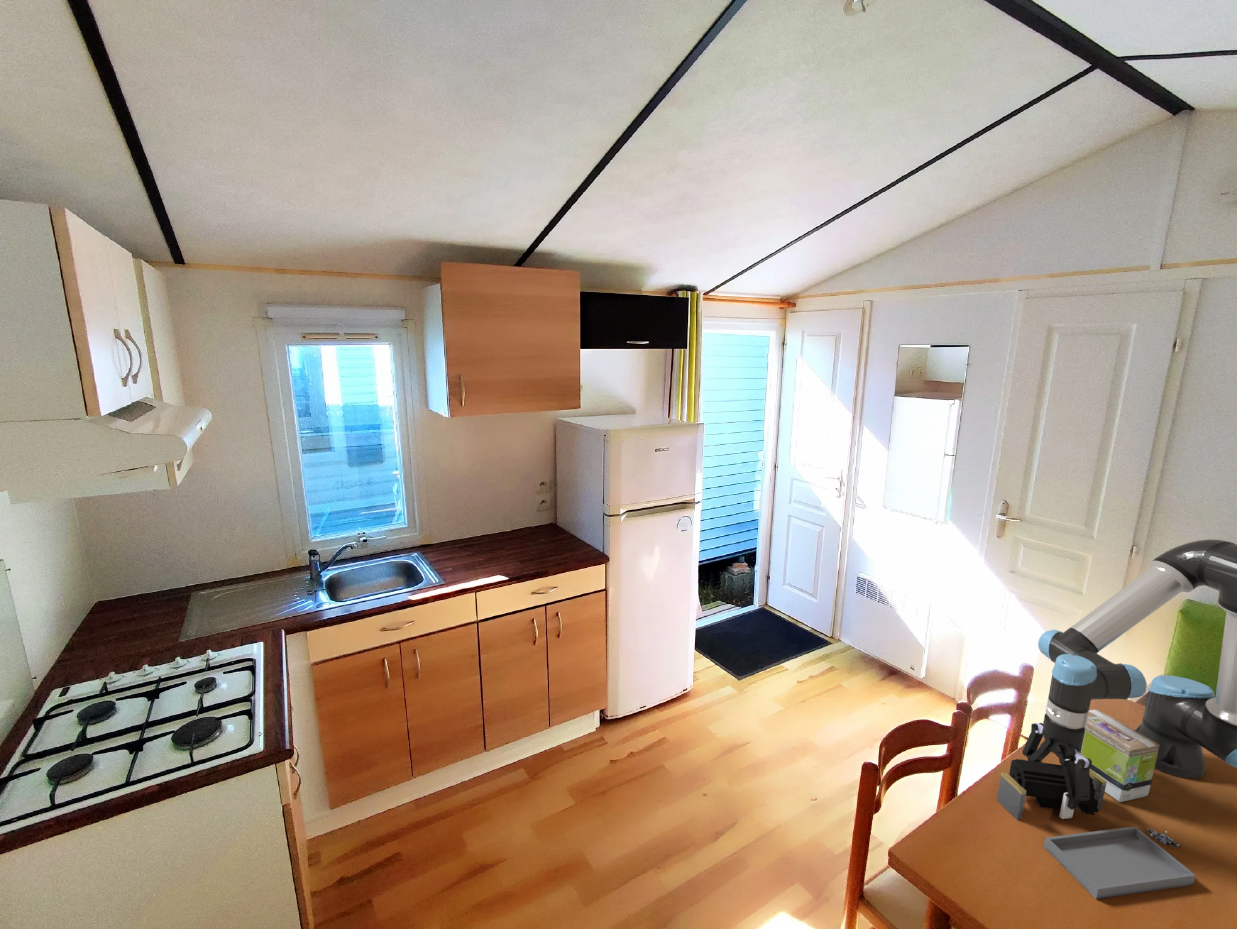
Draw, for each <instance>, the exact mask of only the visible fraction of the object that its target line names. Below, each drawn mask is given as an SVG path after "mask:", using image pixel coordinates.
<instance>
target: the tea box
mask: <svg viewBox="0 0 1237 929" xmlns="http://www.w3.org/2000/svg"><path fill="white" fill-rule="evenodd" d="M1135 730H1136V729H1133V728H1131V727H1130V726H1128V725H1126V724H1124V723H1123V722H1121V721H1119V720H1118V719H1115V718H1113V717H1112V716H1110V715H1108V714H1106V713H1104V712H1103V711H1101V710H1099V709H1098V708H1096V709H1089V711H1088V717H1087V722H1086V726H1085V731H1084V736H1083V740H1082V742H1081V743H1080V745H1079V750H1080V754H1081V755H1082V756H1084V757H1085V758H1089V759H1091V761H1092V765H1091V767H1090V769H1091V770H1092V771H1093V772H1094V773H1096V774H1097V775H1098V776H1100V777H1101V778H1102V779H1104V780H1105V781H1106V782H1107V783H1106V788H1105V793H1106V794H1108V795H1109V796H1110V797H1112V798H1113V799H1115V800H1116V801H1117V802H1118V803H1122V802H1127V801H1132V800H1135V799H1141V798H1145V797H1148V795H1149V793H1150V789H1151V785H1152V781H1153V777H1154V772H1155V769H1156V768H1155V763H1156V759H1157V754H1158V750H1159V744H1157V743H1156V742H1154V741H1152V740H1150V739H1149V738H1147V737H1145V736H1143V735H1142V734H1140V733H1138V732H1136V731H1135ZM1065 760H1070V759H1065Z"/></svg>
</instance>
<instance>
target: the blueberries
mask: <svg viewBox="0 0 1237 929" xmlns="http://www.w3.org/2000/svg"><path fill="white" fill-rule="evenodd" d="M1146 832H1147V833H1148V834H1149V835H1150V836H1151V837H1152V838H1153V839H1154V841H1155V842H1158V843H1160V844H1163V845H1167V846H1169V847H1171V846H1172V847H1174V848H1176V849H1177V848H1180V847H1181V844H1180V843H1178V842H1175V841H1174V839H1173V838H1172V836H1171V837H1170V836H1168V835H1167V833H1168V831H1166V830H1165V832H1162V833H1160V832H1156V830H1154V829H1153V828H1149V829H1147V830H1146Z"/></svg>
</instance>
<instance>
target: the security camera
mask: <svg viewBox="0 0 1237 929" xmlns="http://www.w3.org/2000/svg"><path fill="white" fill-rule="evenodd" d="M1008 775H1010V776H1011V777H1012V778H1013V779H1014V780H1015V781H1016V782H1017V783H1018V784H1019V785H1020V786H1022V787H1023V788H1024V789H1025V790H1026V797H1030V798H1035V800H1034V801H1035V802H1036V804H1037V805H1038V806H1039V807H1040V808H1046V809H1051V810H1058V811H1061V806H1062V801H1063V796H1064V793H1067V792H1068V791H1067V787H1066V782H1065V777H1064V772H1063V767H1062V765H1061V764H1057V763H1056V764H1055V763H1048V762H1034V761H1028V759H1027V760H1025V759H1019V758H1015V759H1012V760H1011V762H1010V768H1009V774H1008ZM1092 781H1093V779H1092V778H1091V777H1090V800H1086V801H1079V803H1078V809H1079V810H1080V811H1081V813H1082V814H1085V815H1093V816H1094V815H1095V813H1099V812H1100V810H1099V809H1098V808H1097V805H1098V801H1097V800H1096V799H1095V798H1094V796H1095V791H1096V790H1095V789H1094V784H1093V783H1092Z"/></svg>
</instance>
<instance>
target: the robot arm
mask: <svg viewBox="0 0 1237 929" xmlns="http://www.w3.org/2000/svg"><path fill="white" fill-rule="evenodd" d="M1201 586H1202V587H1203V586H1204V587H1205V586H1206V587H1208V588H1211V589H1213V590H1216V591H1218V598H1217V599H1218V600H1217V604H1218V606H1219V607H1220V608H1221V609H1222V610H1224V612H1225V622H1224V628H1223V629H1224V630H1223V636H1222V643H1221V644H1222V645H1221V652H1220V658H1219V660H1220V661H1219V667H1218V677H1217V684H1216V690H1215V691H1216V692H1214V690H1213V689H1212V688H1211V687H1210V686H1209V685H1206V684H1204V683H1201V682H1199V681H1196V680H1194V679H1191V678H1187V677H1181V676H1177V675H1157V676H1155V677H1154V678H1153V679H1152V680H1151V683H1150V687H1149V688H1148V690H1147V687H1148V686H1147V684H1148V683H1147V680H1146V677H1145V676H1144V673H1142V671H1141V670H1140V669H1139V668H1137V667H1136V666H1134V665H1131V664H1127V663H1114V662H1112V661H1110V660H1109V659H1107V658H1105V657H1104V656H1102V655H1100V654H1098V653H1099V652H1101V651H1102V650H1103V649H1105V648H1106V647H1107V646H1109V645H1110V644H1112V643H1113V642H1114V641H1115V640H1117V639H1118V638H1120V637H1121V636H1122V635H1123V634H1125V633H1127V632H1128V631H1129V630H1132V628H1134V627H1135V626H1136V625H1138V624H1139V623H1141V622H1142V621H1143V620H1145V619H1146V618H1147V617H1149V616H1150V615H1152V614H1153V613H1154V612H1156V611H1157V610H1159V609H1160V608H1161V607H1162V606H1164V605H1165V604H1166V603H1168V602H1169V601H1171V600H1172V599H1173V598H1175V597H1177V596H1178V595H1179V594H1181V593H1191V592H1192V591H1194V590H1195V589H1196V588H1198V587H1201ZM1037 645H1038V649H1039V652H1040V653H1041V654H1042V655H1044V656H1045V657H1046V658H1048V659H1049V660H1050V661H1051V662H1053V663H1054V665H1053V668H1052V670H1051V680H1050V686H1049V692H1048V698H1047V702H1046V709H1045V713H1044V718H1043V722H1038V723H1037V722H1035V723H1031V725H1030V726H1031V729H1030V733H1029V735H1028V737H1027V740H1026V742H1025V745H1024V746H1023V749H1022V753H1021V754H1022V755H1023V756H1024V757H1026V758H1027V761H1034V762H1042V763H1044V762H1043V761H1044V759H1045V758H1046V757H1048V756H1049V754H1050V753H1052V754H1054V755H1056V757H1057V758H1058V761H1059V765H1062V767H1063V772H1064V777H1065V782H1066V787H1067V791H1068V792H1067V793H1064V796H1063V801H1062V806H1061V810H1059V811H1060V812H1059V818H1060V819H1061V820H1062V819H1063V820H1064V819H1072V818H1073V815H1074V811H1075V810H1077V809H1079V807H1078V803H1079V801H1086V800H1090V767H1091V765H1092V761H1091V759H1089V758H1085V757H1084V756H1082V755H1081V754H1080V750H1079V745H1080V743H1081V742H1082V740H1083V736H1084V731H1085V726H1086V722H1087V717H1088V711H1089V710H1090V708H1091V706H1090V705H1091V701H1092V700H1094V701H1095V700H1129V699H1135V698H1140V697H1142V696H1144V694H1146V691H1148V693H1147V696H1146V697H1147V698H1146V701H1145V706H1144V707H1145V708H1144V712H1143V715H1142V721H1141V722H1140V724H1139V725H1138V726H1137V727H1136V728H1135V729H1134V730H1135V731H1136V732H1138V733H1140V734H1142V735H1143V736H1145V737H1147V738H1149V739H1150V740H1152V741H1154V742H1156V743H1157V744H1159V750H1158V754H1157V759H1156V763H1155V768H1154V769H1156V770H1158V771H1161V772H1163V773H1166V774H1169V775H1171V776H1174V777H1180V778H1182V779H1183V778H1185V779H1199V778H1202V777H1203V776H1204V775H1205V772H1206V768H1207V765H1206V764H1207V763H1206V761H1205V756H1204V751H1203V749H1204V750H1206V751H1208V752H1210V753H1211V754H1213V755H1214V756H1216V757H1217V758H1218V759H1220V760H1222V762H1225V764H1227V765H1229V766H1232V767H1233V768H1235V769H1237V544H1236V543H1234V542H1231V541H1227V540H1224V539H1200V540H1196V541H1191V542H1188V543H1184V544H1181V545H1177V546H1175V547H1173V548H1171V549H1169V550H1167V551H1165V552H1164V553H1163V552H1162V554H1161V553H1160V554H1159V555H1158V556H1157V557H1155V558H1154V559H1153V560H1151V561H1150V562H1149V569H1147V570H1146V571H1144V572H1143V573H1142V574H1141V575H1139V576H1138V577H1137V578H1135V579H1134V580H1132V581H1131V582H1130V583H1128V584H1127V585H1126V586H1125V587H1123V588H1122V589H1120V590H1119V591H1118V592H1116V593H1115V594H1114V595H1112V596H1111V597H1109V598H1108V599H1107V600H1105V601H1104V602H1102V604H1100V605H1099V606H1097V607H1096V608H1095V609H1094V610H1092V611H1090V612H1089V613H1088V614H1087V615H1085V616H1084V617H1082V618H1081V619H1080V620H1078V621H1077V622H1076V623H1075V624H1073V625H1071V627H1069V628H1067V629H1066V630H1065V631H1061V630H1057V629H1051V630H1046V631H1045V632H1044V633H1042V634H1041V635H1040V637H1039V638H1038V643H1037ZM1043 738H1044V741H1043V742H1042V743H1041V741H1042V739H1043ZM1065 759H1070V760H1065Z"/></svg>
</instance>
